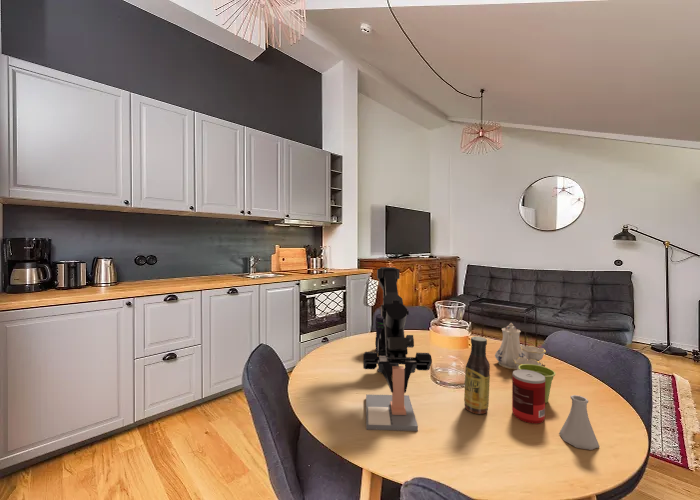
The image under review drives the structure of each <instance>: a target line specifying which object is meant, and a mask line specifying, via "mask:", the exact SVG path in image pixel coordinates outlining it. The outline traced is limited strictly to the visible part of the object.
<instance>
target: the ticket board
mask: <svg viewBox="0 0 700 500" xmlns="http://www.w3.org/2000/svg"><path fill="white" fill-rule="evenodd" d="M390 401H392V394H365V414H366V416H365V418H366V419H365V421H366V422H365V424H366V427H365V428H366V429H365V430H374V431H404V432H405V431H407V432H408V431H409V432H418V431H419V425H418V422H417V421H418V420H417V418H416V416H415V412H414V408H413V405H412V401H411V399H410V395H408V394H407V395H405V394H404V405H405V409H406V415H392V410H391V404H390Z"/></svg>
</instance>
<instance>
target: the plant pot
mask: <svg viewBox="0 0 700 500" xmlns="http://www.w3.org/2000/svg"><path fill="white" fill-rule="evenodd" d="M518 368H519V370H530V371H534V372H537V373H540V374H542V375H543V376H544V377H545V404H547V403H548V402H549V398H550V392H551V387H552V384H553V383H552V381H553V380H554V377H555V376H556V372H555V371H554V370H553V369H551V368H549V367H547V366H543V365H542V366H539V365H533V364H522V365H519V367H518Z"/></svg>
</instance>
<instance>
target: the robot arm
mask: <svg viewBox="0 0 700 500" xmlns="http://www.w3.org/2000/svg"><path fill="white" fill-rule="evenodd" d="M400 277H401V276H400V269H399V268H396V267H393V266H392V267H391V266H389V267H386V266H380V268H377V269H376V279H377V280H378V285H379V287H380V289H382V299H383V300H382V304H381V305H380V314H381V316H383V319H384V327H383V329H382V331H381V333H380V338H378V353H377V352H376V351H365V352H364V353H363V354H362V355H363V358H362V360H363V364H362V368H363V369H364V370H375V369H376V368H377V369H376V370H377V372H378V373H381V374H382V375H383V377H384V379H385V381H386V382H387V385H388V387H389V390H390V392H391V394H392V393H393V383H392V366H400V365H404V394H406V392H407V389H408V384H409V380H410V376H411V375H412V374H414V373H415V372H416V370H417V371H426V372H427V371H430V369H431V367H432V363H433V359H432V355H431V354H430V353H429V352H416V354H415V356H414V357H413V356H407V355H408V354H409V353H408V348H409V349H410V348H412V349H413V348H414V347H415V339H414V334H406V336H405V325H406V321H407V317H408V315H409V314H410V313H409V310H408V309H407V307H406V305H405V304H404V301H403V298H402V296H401V295H399V291H398V280H400V279H401V278H400ZM380 349H382V350H380Z"/></svg>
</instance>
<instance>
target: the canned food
mask: <svg viewBox="0 0 700 500" xmlns="http://www.w3.org/2000/svg"><path fill="white" fill-rule="evenodd" d="M511 378H512V380H511V384H512V385H511V391H512V392H511V395H512V400H511V401H512V403H511V410H512V413H513V416H514V417H515V418H516V419H518V420H520V421H522V422H524V423H529V424H532V425H533V424H541V423H543V422H544V421H545V418H546V403H545V377H544V376H543V375H542V374H540V373H537V372H534V371H530V370H517V369H514V370H513V371H512V377H511Z"/></svg>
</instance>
